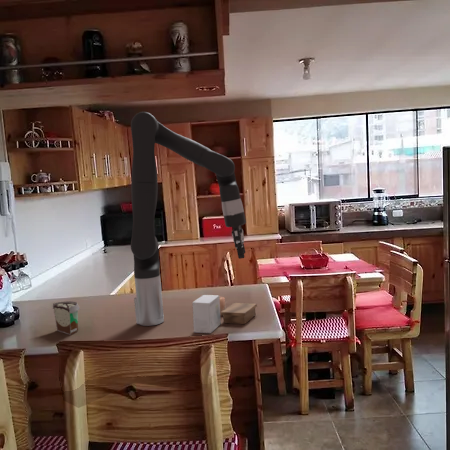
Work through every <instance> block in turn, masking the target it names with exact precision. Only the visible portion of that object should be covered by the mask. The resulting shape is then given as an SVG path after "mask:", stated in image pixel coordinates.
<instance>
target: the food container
mask: <svg viewBox="0 0 450 450" xmlns="http://www.w3.org/2000/svg"><path fill="white" fill-rule="evenodd" d="M52 309H53V314H54V318H55V326H56V331H57V332H60V333H64V334H66V335H70V336H72V335H75V334H76V333H78V331H79V316H78V315H79V314H78V313H79V312H78V311H79V310H80V306H79V304H78V302H77V301H73V300H72V301H71V300H70V301H67V300H65V301H58V302H54V303H52Z"/></svg>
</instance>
